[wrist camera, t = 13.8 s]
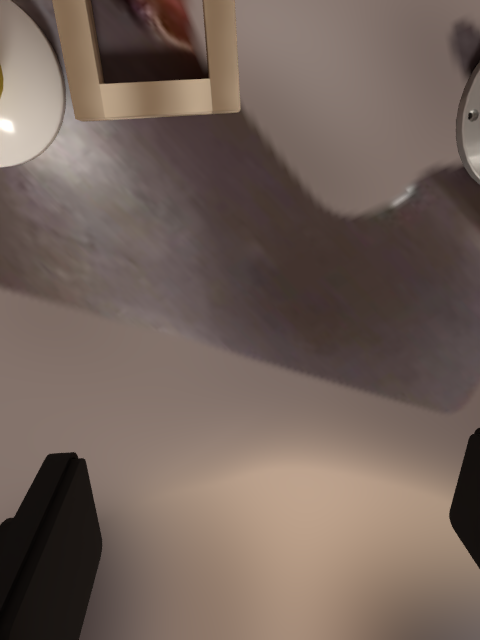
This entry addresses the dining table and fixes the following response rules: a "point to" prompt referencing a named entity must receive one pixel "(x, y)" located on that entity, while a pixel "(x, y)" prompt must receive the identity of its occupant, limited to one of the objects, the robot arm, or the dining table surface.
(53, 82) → the saucer
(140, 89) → the frame
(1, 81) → the lemon
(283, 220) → the dining table surface
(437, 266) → the dining table surface
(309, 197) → the dining table surface
